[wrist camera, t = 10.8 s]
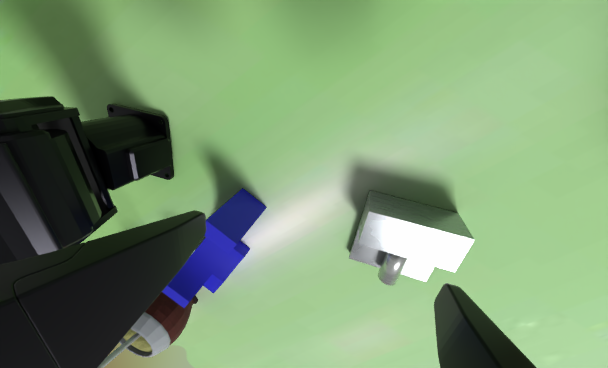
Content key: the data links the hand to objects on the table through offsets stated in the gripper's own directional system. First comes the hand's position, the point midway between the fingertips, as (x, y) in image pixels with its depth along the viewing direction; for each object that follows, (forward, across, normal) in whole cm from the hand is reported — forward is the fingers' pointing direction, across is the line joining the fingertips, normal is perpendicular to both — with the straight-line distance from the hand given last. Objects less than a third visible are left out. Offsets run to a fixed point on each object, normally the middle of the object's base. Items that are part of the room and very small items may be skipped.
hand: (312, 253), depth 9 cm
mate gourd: (+12, +17, +22) cm, 31 cm away
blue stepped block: (+12, +10, +12) cm, 20 cm away
